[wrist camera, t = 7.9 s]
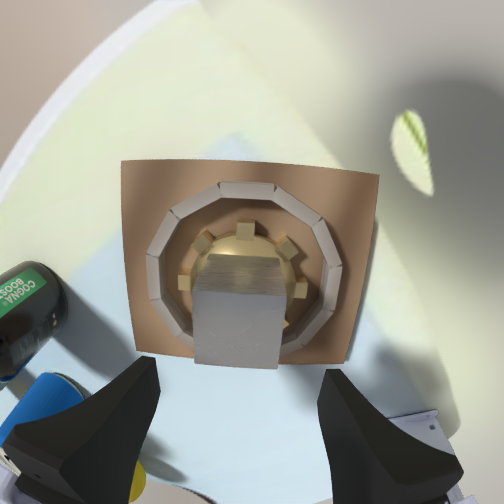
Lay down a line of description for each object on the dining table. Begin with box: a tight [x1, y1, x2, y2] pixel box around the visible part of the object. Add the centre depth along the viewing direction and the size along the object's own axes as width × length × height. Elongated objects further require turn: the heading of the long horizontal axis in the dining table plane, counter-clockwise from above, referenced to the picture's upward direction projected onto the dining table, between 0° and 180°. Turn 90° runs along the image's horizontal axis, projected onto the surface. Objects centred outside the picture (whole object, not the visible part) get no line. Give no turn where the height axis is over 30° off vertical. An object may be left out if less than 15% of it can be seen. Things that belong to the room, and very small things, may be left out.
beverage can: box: [0, 372, 84, 475], centre depth 19 cm, size 6×6×12 cm
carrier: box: [121, 159, 379, 364], centre depth 19 cm, size 16×14×3 cm
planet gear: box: [178, 218, 308, 369], centre depth 16 cm, size 8×8×6 cm
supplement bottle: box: [0, 261, 67, 383], centre depth 15 cm, size 7×7×12 cm
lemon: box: [129, 460, 146, 503], centre depth 24 cm, size 6×6×8 cm
